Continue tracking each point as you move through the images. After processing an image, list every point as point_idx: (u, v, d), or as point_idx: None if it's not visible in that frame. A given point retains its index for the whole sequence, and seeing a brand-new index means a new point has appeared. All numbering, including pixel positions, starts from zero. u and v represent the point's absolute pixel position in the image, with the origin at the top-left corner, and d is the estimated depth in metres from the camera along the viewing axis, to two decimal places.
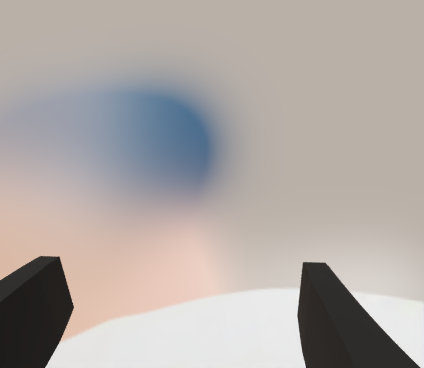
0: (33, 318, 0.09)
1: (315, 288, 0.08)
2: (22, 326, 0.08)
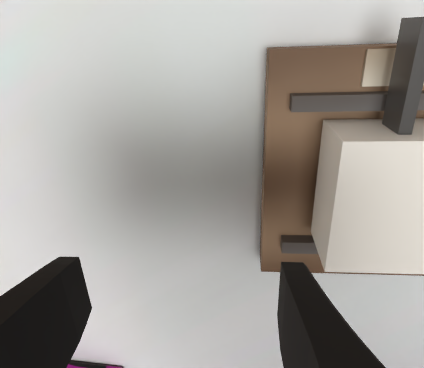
0: (55, 319, 0.08)
1: (289, 287, 0.08)
2: (45, 326, 0.08)
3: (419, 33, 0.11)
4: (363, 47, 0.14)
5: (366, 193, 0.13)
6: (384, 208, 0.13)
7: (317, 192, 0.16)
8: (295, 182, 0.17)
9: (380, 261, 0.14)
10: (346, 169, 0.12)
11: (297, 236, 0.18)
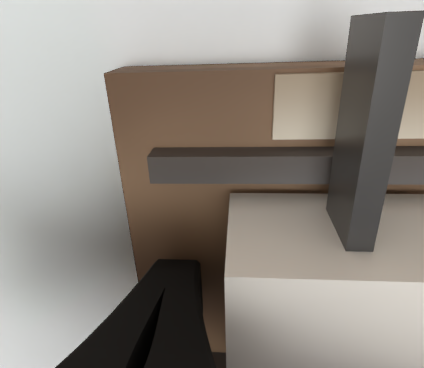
0: None
1: (166, 284, 0.08)
2: None
3: (380, 51, 0.05)
4: (270, 70, 0.07)
5: (286, 363, 0.06)
6: None
7: None
8: None
9: None
10: (240, 323, 0.06)
11: None
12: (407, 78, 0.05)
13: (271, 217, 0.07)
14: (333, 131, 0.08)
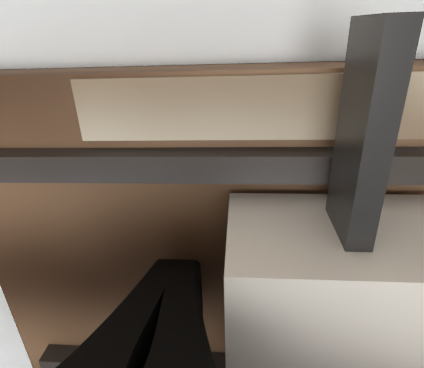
0: None
1: (166, 284, 0.08)
2: None
3: (380, 51, 0.05)
4: (69, 75, 0.08)
5: (285, 363, 0.06)
6: None
7: None
8: (41, 277, 0.11)
9: None
10: (239, 323, 0.06)
11: (70, 347, 0.12)
12: (407, 79, 0.05)
13: (271, 217, 0.07)
14: (135, 133, 0.08)
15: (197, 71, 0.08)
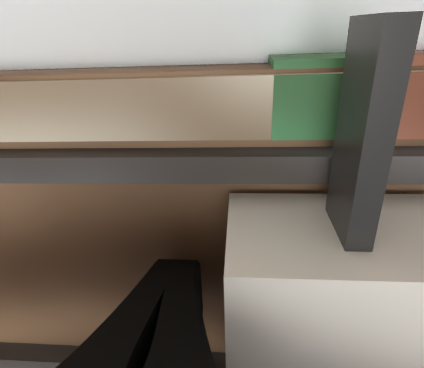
0: None
1: (166, 284, 0.08)
2: None
3: (379, 51, 0.05)
4: None
5: (285, 363, 0.06)
6: None
7: None
8: None
9: None
10: (239, 323, 0.06)
11: None
12: (406, 78, 0.05)
13: (270, 217, 0.07)
14: None
15: (22, 76, 0.08)
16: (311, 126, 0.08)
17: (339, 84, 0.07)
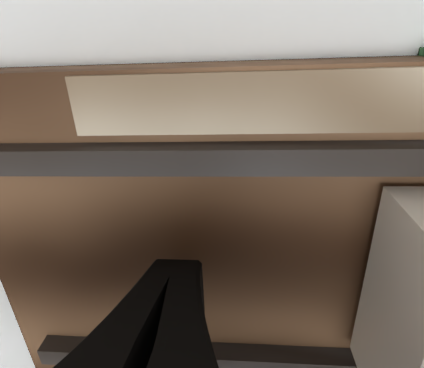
0: None
1: (168, 284, 0.08)
2: None
3: None
4: (64, 73, 0.08)
5: None
6: None
7: (366, 299, 0.10)
8: (38, 268, 0.11)
9: None
10: None
11: (68, 338, 0.12)
12: None
13: None
14: (128, 128, 0.09)
15: (186, 68, 0.08)
16: None
17: None
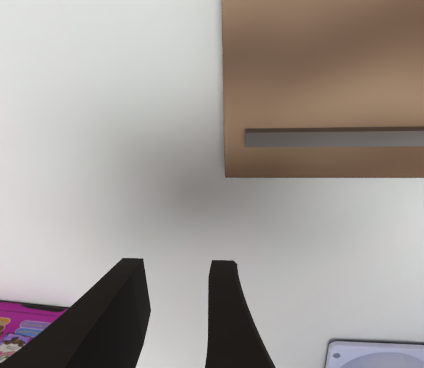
0: (127, 322, 0.08)
1: (209, 285, 0.08)
2: (120, 329, 0.08)
3: None
4: None
5: None
6: None
7: None
8: (258, 56, 0.14)
9: None
10: None
11: (263, 129, 0.16)
12: None
13: None
14: None
15: None
16: None
17: None
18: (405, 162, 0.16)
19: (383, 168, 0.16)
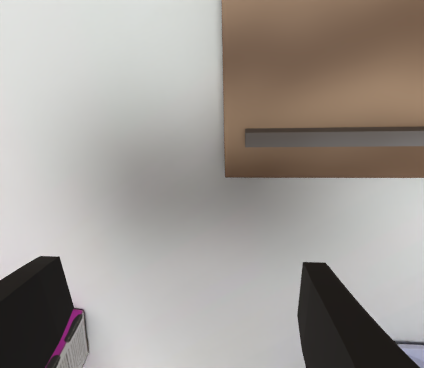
0: (33, 318, 0.09)
1: (315, 288, 0.08)
2: (21, 326, 0.08)
3: None
4: None
5: None
6: None
7: None
8: (258, 56, 0.14)
9: None
10: None
11: (263, 129, 0.16)
12: None
13: None
14: None
15: None
16: None
17: None
18: (405, 162, 0.16)
19: (383, 168, 0.16)
